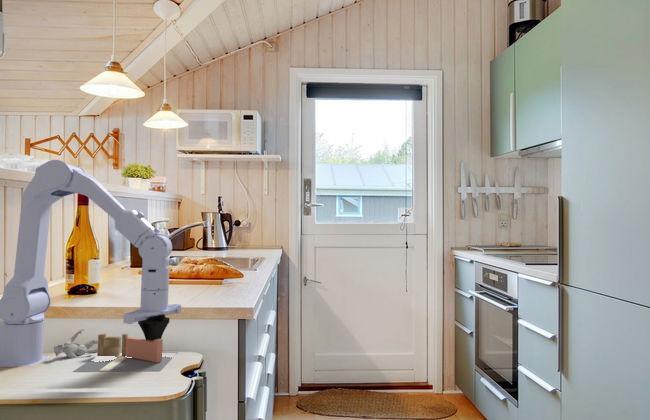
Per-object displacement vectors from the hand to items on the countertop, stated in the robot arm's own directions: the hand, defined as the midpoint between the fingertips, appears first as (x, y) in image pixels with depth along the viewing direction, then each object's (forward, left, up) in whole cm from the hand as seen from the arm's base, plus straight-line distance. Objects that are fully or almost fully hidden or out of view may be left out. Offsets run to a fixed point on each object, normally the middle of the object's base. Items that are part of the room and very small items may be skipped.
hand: (152, 351), depth 97 cm
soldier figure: (-17, +4, -2) cm, 17 cm away
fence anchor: (-10, +2, -2) cm, 10 cm away
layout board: (-4, -2, -2) cm, 5 cm away
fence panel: (-2, -1, -1) cm, 2 cm away
